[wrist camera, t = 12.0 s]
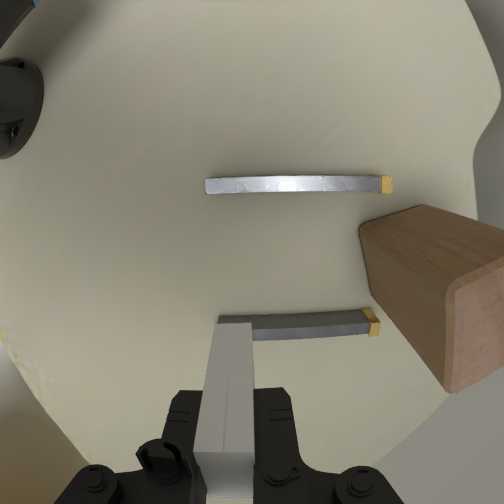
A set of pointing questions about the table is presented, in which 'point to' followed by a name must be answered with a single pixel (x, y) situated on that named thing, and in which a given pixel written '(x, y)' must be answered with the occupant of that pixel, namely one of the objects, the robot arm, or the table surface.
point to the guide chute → (305, 322)
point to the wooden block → (441, 289)
